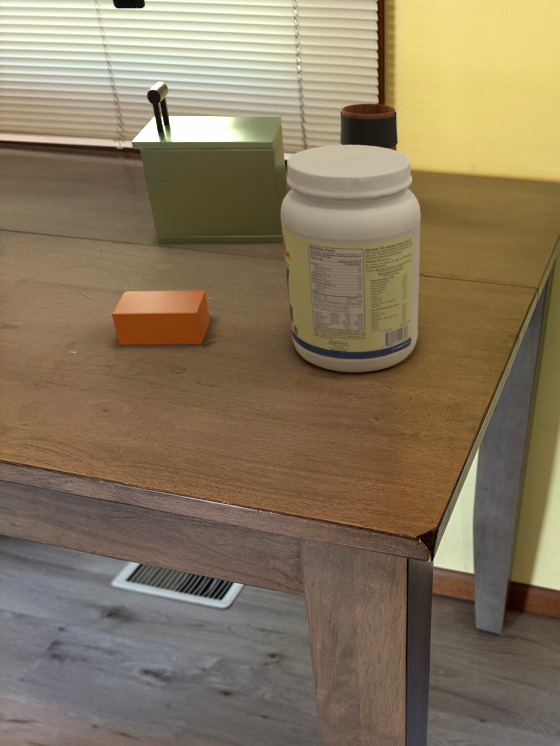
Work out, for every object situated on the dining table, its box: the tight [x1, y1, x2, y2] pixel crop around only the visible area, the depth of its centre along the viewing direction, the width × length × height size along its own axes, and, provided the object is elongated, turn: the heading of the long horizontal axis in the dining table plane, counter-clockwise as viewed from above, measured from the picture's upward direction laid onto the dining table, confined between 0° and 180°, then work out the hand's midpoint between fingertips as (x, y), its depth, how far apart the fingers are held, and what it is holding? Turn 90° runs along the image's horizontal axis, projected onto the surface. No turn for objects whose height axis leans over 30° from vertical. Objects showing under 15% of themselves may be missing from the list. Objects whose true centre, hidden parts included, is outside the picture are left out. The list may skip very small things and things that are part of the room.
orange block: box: [111, 290, 211, 346], centre depth 75 cm, size 8×6×3 cm
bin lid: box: [131, 81, 282, 150], centre depth 92 cm, size 16×14×5 cm
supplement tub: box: [281, 144, 422, 373], centre depth 68 cm, size 12×12×17 cm
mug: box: [339, 103, 399, 151], centre depth 108 cm, size 9×12×12 cm
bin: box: [139, 124, 288, 244], centre depth 97 cm, size 16×14×11 cm
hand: (140, 3), depth 84 cm, fingers open, 9 cm apart
